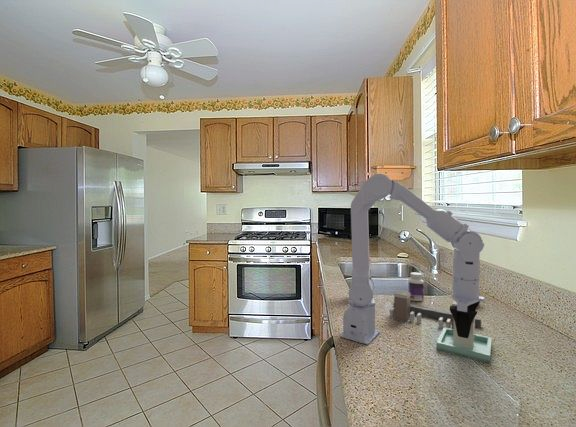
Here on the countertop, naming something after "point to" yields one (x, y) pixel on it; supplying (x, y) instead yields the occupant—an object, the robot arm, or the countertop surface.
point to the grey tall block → (462, 341)
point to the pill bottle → (416, 287)
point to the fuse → (402, 306)
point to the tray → (478, 353)
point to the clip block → (432, 315)
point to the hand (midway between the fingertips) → (464, 331)
